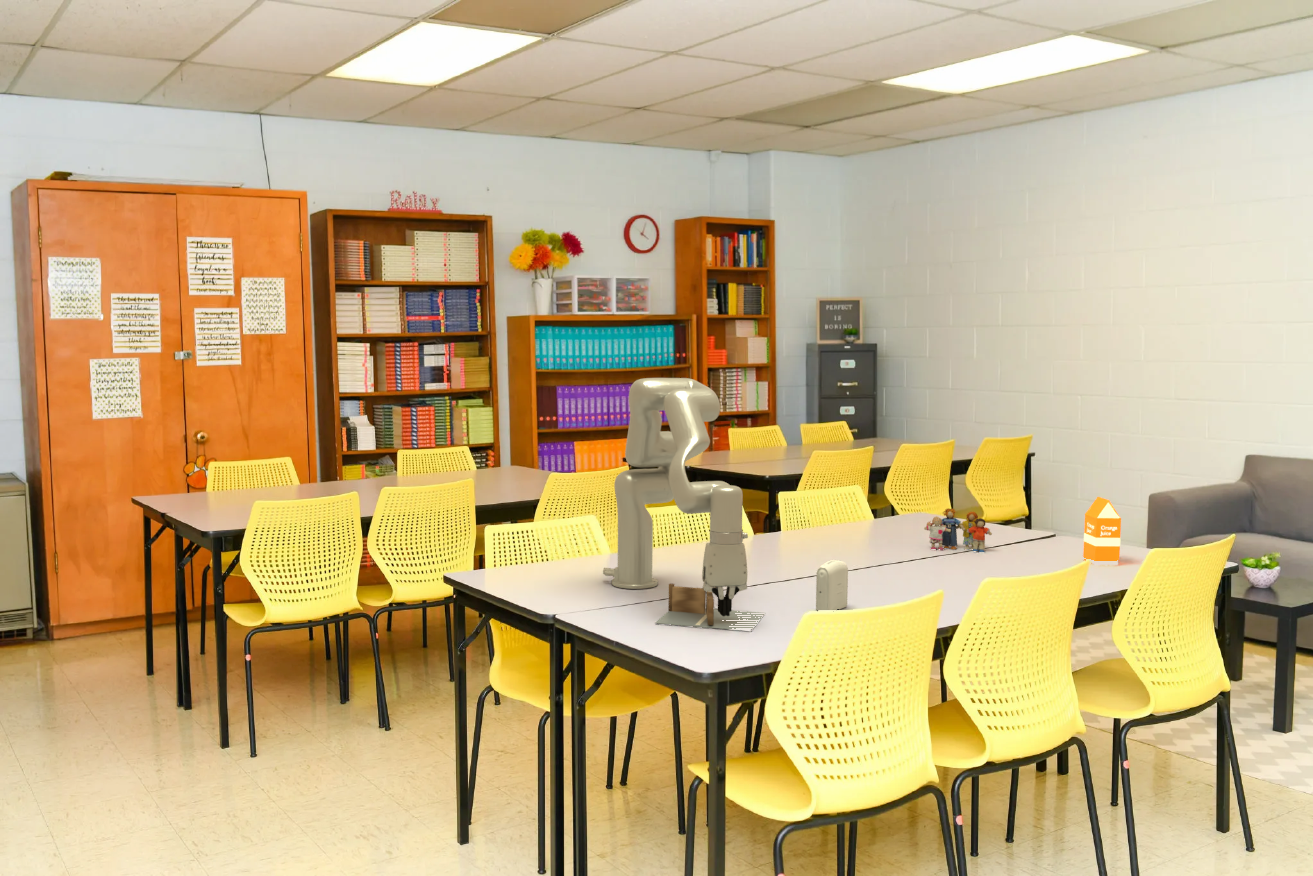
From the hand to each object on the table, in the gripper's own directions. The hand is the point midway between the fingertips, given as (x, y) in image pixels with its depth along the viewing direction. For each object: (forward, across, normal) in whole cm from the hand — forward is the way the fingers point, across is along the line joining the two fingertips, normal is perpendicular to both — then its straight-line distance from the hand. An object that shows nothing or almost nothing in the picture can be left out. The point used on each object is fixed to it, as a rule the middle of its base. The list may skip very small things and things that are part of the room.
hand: (724, 614), depth 266 cm
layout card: (+2, +2, -4) cm, 5 cm away
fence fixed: (+2, +6, -11) cm, 13 cm away
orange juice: (+2, -135, -52) cm, 145 cm away
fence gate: (+1, +3, -2) cm, 4 cm away
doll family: (+2, -102, -82) cm, 131 cm away
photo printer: (+2, -30, -9) cm, 32 cm away
